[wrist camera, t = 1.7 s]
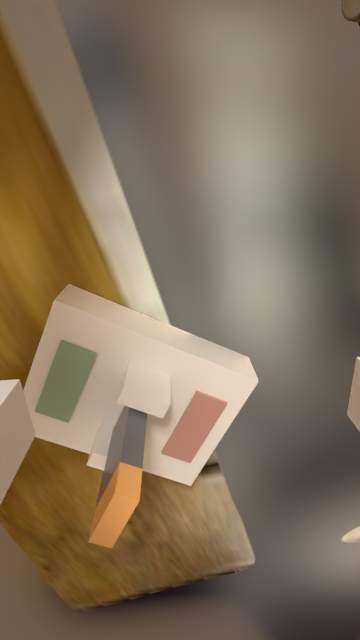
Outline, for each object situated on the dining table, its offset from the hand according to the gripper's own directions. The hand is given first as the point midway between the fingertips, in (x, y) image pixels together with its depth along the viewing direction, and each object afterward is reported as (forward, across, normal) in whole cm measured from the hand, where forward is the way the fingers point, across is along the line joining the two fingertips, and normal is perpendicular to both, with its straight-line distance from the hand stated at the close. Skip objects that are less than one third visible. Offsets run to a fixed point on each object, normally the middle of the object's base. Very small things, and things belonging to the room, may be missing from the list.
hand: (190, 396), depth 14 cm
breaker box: (+27, -6, -17) cm, 33 cm away
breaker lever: (+20, -6, -17) cm, 27 cm away
